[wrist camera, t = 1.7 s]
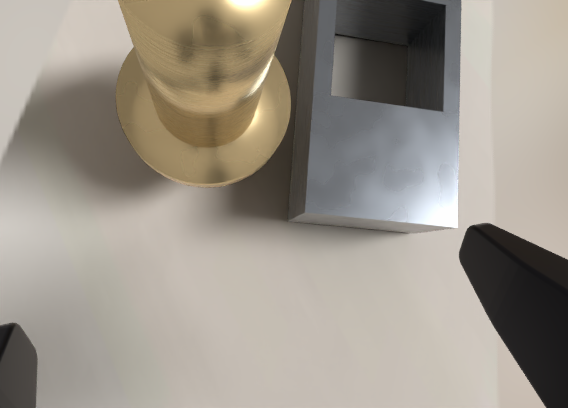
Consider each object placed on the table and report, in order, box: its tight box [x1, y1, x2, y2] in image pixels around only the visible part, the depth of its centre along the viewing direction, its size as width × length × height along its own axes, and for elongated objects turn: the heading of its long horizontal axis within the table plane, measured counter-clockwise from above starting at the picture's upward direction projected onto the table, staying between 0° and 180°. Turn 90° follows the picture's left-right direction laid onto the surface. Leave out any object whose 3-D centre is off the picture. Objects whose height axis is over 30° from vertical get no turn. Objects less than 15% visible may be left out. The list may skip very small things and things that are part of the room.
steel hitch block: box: [288, 0, 461, 233], centre depth 22 cm, size 15×7×4 cm, turn 176°
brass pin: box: [116, 0, 292, 188], centre depth 15 cm, size 7×7×13 cm
